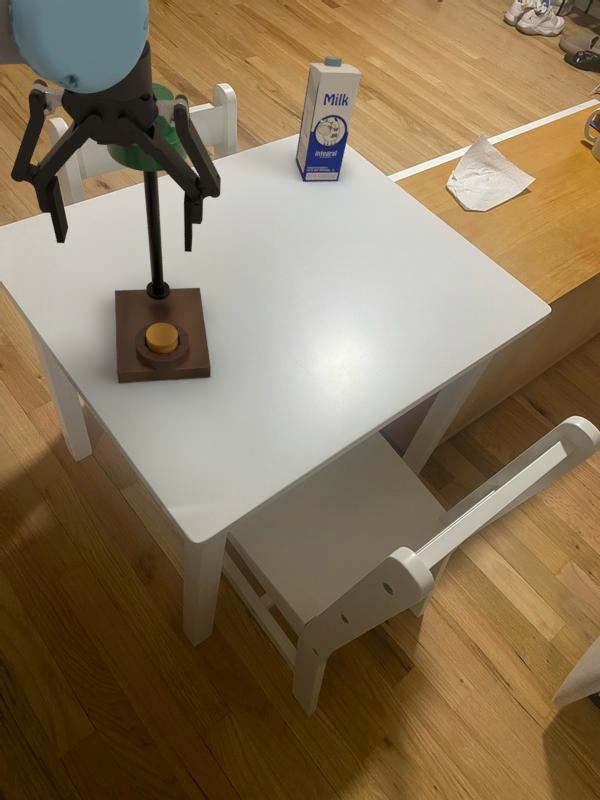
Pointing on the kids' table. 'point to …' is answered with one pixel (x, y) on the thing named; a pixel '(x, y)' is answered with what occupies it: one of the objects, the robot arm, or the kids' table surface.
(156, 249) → the lamp
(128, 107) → the robot arm
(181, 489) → the kids' table surface
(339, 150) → the milk carton
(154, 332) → the lamp switch
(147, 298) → the lamp base
